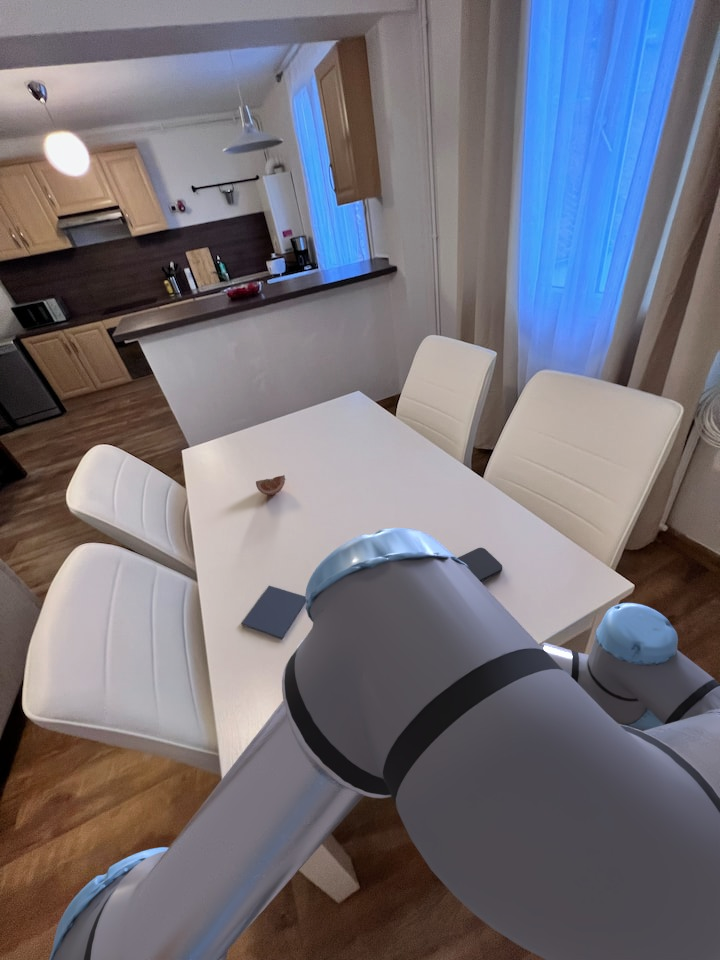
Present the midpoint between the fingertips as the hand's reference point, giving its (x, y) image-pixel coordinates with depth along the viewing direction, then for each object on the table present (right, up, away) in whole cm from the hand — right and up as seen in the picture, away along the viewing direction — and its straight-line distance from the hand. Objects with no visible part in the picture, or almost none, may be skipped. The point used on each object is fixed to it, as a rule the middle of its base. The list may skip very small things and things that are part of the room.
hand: (392, 623), depth 70 cm
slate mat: (-23, -2, +13) cm, 27 cm away
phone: (+16, +5, +15) cm, 22 cm away
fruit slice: (-31, +21, +48) cm, 61 cm away
